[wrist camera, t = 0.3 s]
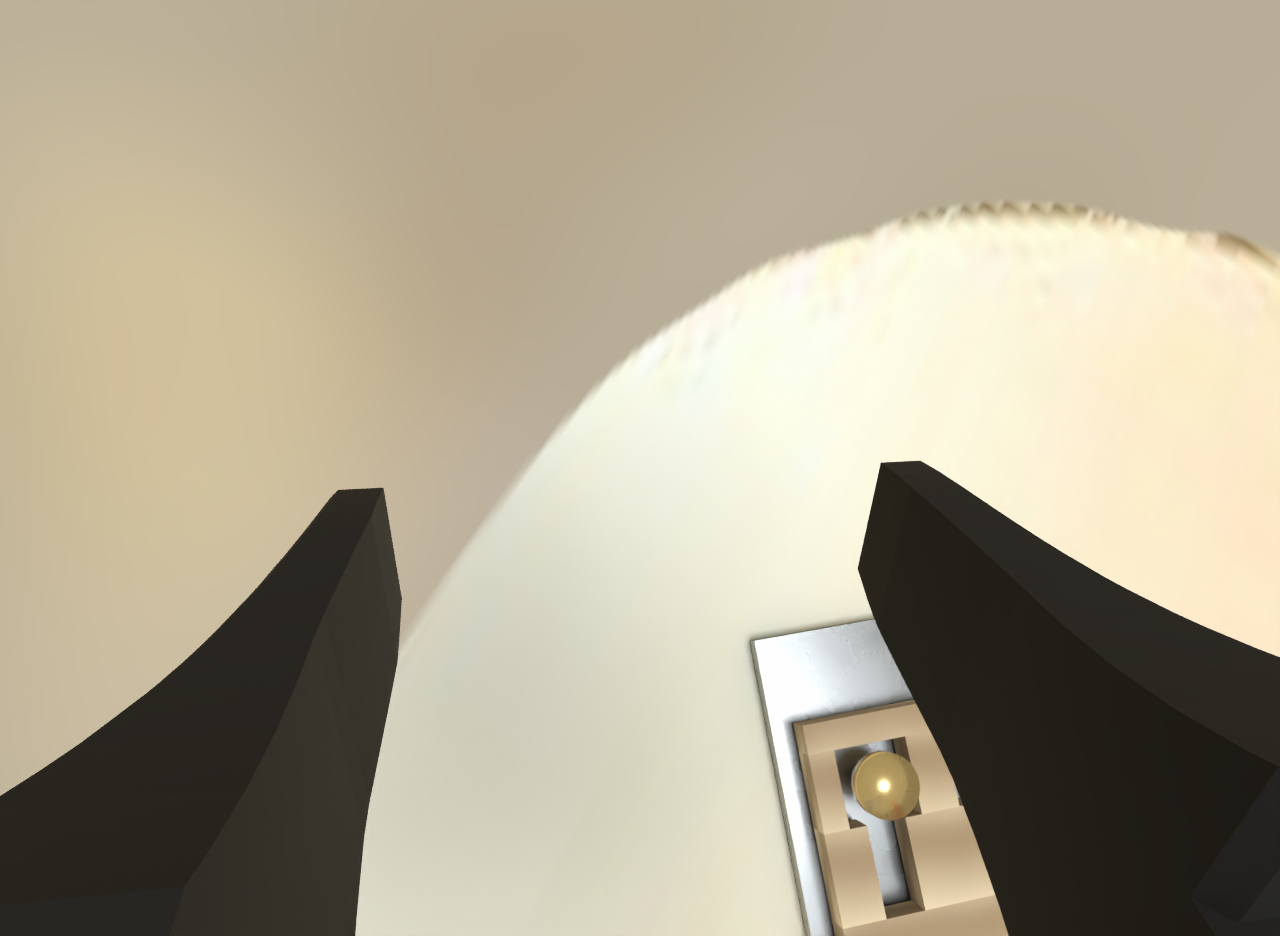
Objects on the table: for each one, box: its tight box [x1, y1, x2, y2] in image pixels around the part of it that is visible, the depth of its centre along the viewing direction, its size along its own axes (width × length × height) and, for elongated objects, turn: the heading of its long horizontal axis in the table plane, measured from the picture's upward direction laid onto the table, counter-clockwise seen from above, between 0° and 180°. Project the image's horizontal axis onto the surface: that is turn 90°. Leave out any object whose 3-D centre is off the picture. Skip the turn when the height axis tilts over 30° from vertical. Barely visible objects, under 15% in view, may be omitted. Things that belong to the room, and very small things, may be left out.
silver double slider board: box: [750, 619, 960, 936], centre depth 40 cm, size 20×13×4 cm, turn 10°
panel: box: [793, 700, 1008, 936], centre depth 40 cm, size 12×11×2 cm
